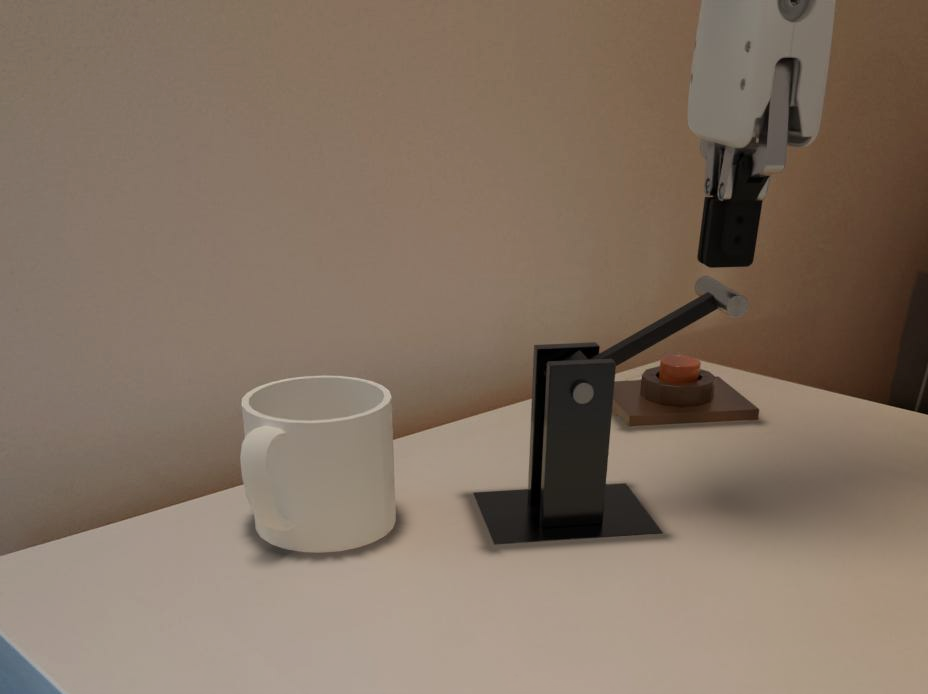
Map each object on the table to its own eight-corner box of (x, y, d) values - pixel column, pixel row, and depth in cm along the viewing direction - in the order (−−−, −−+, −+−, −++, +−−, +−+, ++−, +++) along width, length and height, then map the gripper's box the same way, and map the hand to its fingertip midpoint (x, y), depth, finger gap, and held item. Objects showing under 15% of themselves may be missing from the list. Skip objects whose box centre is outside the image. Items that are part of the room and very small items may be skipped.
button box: (715, 398, 99) (721, 357, 97) (756, 432, 90) (763, 389, 88) (597, 404, 97) (600, 363, 95) (627, 439, 89) (631, 395, 87)
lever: (719, 296, 69) (707, 264, 68) (753, 317, 64) (742, 284, 63) (551, 391, 71) (537, 362, 70) (571, 419, 66) (556, 388, 65)
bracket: (624, 498, 78) (640, 332, 71) (661, 549, 70) (683, 368, 64) (472, 507, 76) (474, 339, 70) (493, 560, 69) (497, 377, 62)
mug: (310, 498, 78) (299, 368, 73) (421, 524, 74) (418, 388, 68) (204, 564, 69) (182, 419, 63) (324, 597, 65) (312, 446, 59)
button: (690, 373, 94) (692, 354, 93) (704, 385, 91) (706, 365, 90) (653, 375, 93) (655, 356, 92) (665, 386, 90) (668, 367, 89)
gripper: (906, -95, 50) (832, 288, 59) (780, -70, 62) (735, 242, 72) (762, -98, 49) (710, 292, 58) (663, -72, 61) (634, 245, 71)
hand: (724, 264), depth 65 cm, fingers closed
